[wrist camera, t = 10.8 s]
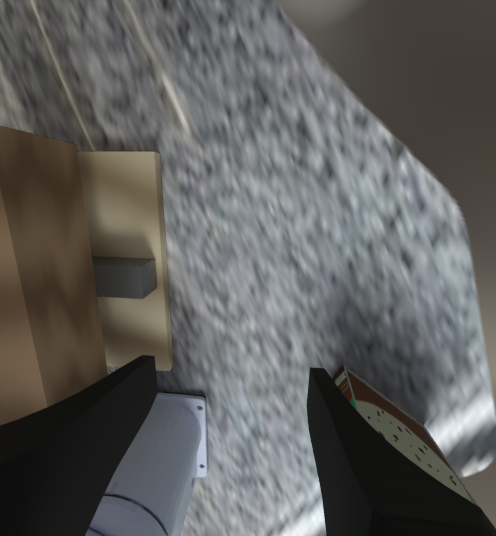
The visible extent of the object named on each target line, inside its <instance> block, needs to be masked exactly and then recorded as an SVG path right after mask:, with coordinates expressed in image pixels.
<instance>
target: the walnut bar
mask: <svg viewBox="0 0 496 536" xmlns="http://www.w3.org/2000/svg"><path fill="white" fill-rule="evenodd" d="M106 376H108V371H107V364H106V357H105V350H104V342H103V335H102V328H101V321H100V313H99V306H98V299H97V292H96V284H95V277H94V270H93V263H92V256H91V248H90V241H89V234H88V227H87V219H86V212H85V205H84V198H83V190H82V183H81V176H80V169H79V162H78V154H77V147H76V144H72V143H68V142H64V141H60V140H56V139H52V138H48V137H44V136H40V135H36V134H32V133H28V132H24V131H20V130H16V129H12V128H8V127H4V126H0V425H3V424H6V423H9V422H12V421H14V420H17V419H20V418H22V417H25V416H27V415H30V414H32V413H34V412H37V411H39V410H42V409H44V408H47V407H49V406H51V405H53V404H56V403H58V402H60V401H62V400H64V399H66V398H68V397H70V396H72V395H74V394H76V393H78V392H80V391H82V390H83V389H85V388H87V387H89V386H90V385H92V384H94V383H96V382H98V381H99V380H101V379H103V378H104V377H106Z"/></svg>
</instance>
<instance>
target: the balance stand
mask: <svg viewBox="0 0 496 536" xmlns="http://www.w3.org/2000/svg"><path fill="white" fill-rule="evenodd" d="M77 154H78V162H79V169H80V176H81V183H82V190H83V198H84V205H85V212H86V219H87V227H88V234H89V241H90V248H91V256H92V263H93V270H94V277H95V284H96V292H97V299H98V306H99V313H100V321H101V328H102V335H103V342H104V350H105V357H106V364H107V366H108V367H120V368H121V367H122V366H124V365H126V364H127V363H129V362H131V361H132V360H134V359H136V358H137V357H139V356H141V355H151V356H155V365H156V370H158V371H170V370H171V368H172V366H173V365H174V363H173V348H172V332H171V317H170V301H169V286H168V270H167V255H166V239H165V224H164V208H163V193H162V177H161V162H160V153H157V152H114V151H77Z"/></svg>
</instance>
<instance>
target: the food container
mask: <svg viewBox="0 0 496 536" xmlns="http://www.w3.org/2000/svg"><path fill="white" fill-rule="evenodd" d="M333 381H334V382H335V384H336V385H337V386H338V388H339V389H340V390H341V392H342V393H343V394H344V396H345V397H346V398H347V399H348V400H349V402H350V403H351V404H352V405H353V406H354V408H355V409H356V410H357V411H358V412H359V413H360V414H361V416H362V417H363V418H364V419H365V420H366V421H367V422H368V423H369V424H370V425H371V426H372V427H373V428H374V429H375V430H376V431H377V432H378V433H379V434H380V435H381V436H382V437H384V438H385V439H386V440H387V441H388V442H389V443H390V444H391V445H393V446H394V447H395V448H396V449H397V450H399V451H400V452H401V453H402V454H403V455H405V456H406V457H407V458H408V459H410V460H411V461H412V462H413V463H415V464H416V465H417V466H419V467H420V468H421V469H423V470H424V471H426V472H427V473H428V474H430V475H431V476H433V477H434V478H435V479H437V480H438V481H440V482H441V483H442V484H444V485H445V486H447V487H449V488H450V489H452V490H453V491H455V492H456V493H458V494H460V495H461V496H463V497H464V498H466V499H467V500H469V501H470V502H472V503H474V504H475V505H477V506H478V507H479V505H478V504H477V502H476V501H475V500H474V498H473V497H472V495H471V494H470V492H469V491H468V489H467V488H466V486H465V485H464V483H463V482H462V481H461V479H460V478H459V476H458V475H457V473H456V472H455V470H454V469H453V467H452V466H451V464H450V463H449V462H448V460H447V459H446V457H445V456H444V454H443V453H442V451H441V450H440V448H439V447H438V445H437V444H436V443H435V441H434V440H433V438H432V437H431V435H430V434H429V432H428V431H427V429H426V428H425V426H424V425H422V424H421V423H420V422H418V421H417V420H416V419H414V418H413V417H412V416H410V415H409V414H408V413H406V412H405V411H404V410H402V409H401V408H400V407H398V406H397V405H396V404H394V403H393V402H392V401H390V400H389V399H388V398H386V397H385V396H384V395H383V394H381V393H380V392H379V391H377V390H376V389H375V388H373V387H372V386H371V385H369V384H368V383H367V382H365V381H364V380H363V379H361V378H360V377H359V376H357V375H356V374H355V373H353V372H352V371H351V370H349V369H348V368H347V367H345V366H344V365H343V366H342V367H341V368H340V369H339V371H338V372H337V373H336V374H335V376H334V378H333Z"/></svg>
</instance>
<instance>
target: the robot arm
mask: <svg viewBox="0 0 496 536" xmlns="http://www.w3.org/2000/svg"><path fill="white" fill-rule="evenodd" d="M199 406H202V407H199ZM307 415H308V425H309V432H310V437H311V443H312V448H313V452H314V457H315V462H316V467H317V472H318V477H319V482H320V487H321V493H322V500H323V508H324V516H325V525H326V534H327V536H496V529H495V527H494V526H493V525H492V523H491V522H490V520H489V519H488V518H487V516H486V515H485V514H484V512H483V511H482V509H481V508H480V507H478V506H477V505H475V504H474V503H472V502H470V501H469V500H467V499H466V498H464V497H463V496H461V495H460V494H458V493H456V492H455V491H453V490H452V489H450V488H449V487H447V486H445V485H444V484H442V483H441V482H440V481H438V480H437V479H435V478H434V477H433V476H431V475H430V474H428V473H427V472H426V471H424V470H423V469H421V468H420V467H419V466H417V465H416V464H415V463H413V462H412V461H411V460H410V459H408V458H407V457H406V456H405V455H403V454H402V453H401V452H400V451H399V450H397V449H396V448H395V447H394V446H393V445H391V444H390V443H389V442H388V441H387V440H386V439H385V438H384V437H382V436H381V435H380V434H379V433H378V432H377V431H376V430H375V429H374V428H373V427H372V426H371V425H370V424H369V423H368V422H367V421H366V420H365V419H364V418H363V417H362V416H361V414H360V413H359V412H358V411H357V410H356V409H355V408H354V406H353V405H352V404H351V403H350V402H349V400H348V399H347V398H346V397H345V396H344V394H343V393H342V392H341V390H340V389H339V388H338V386H337V385H336V384H335V382H334V381H333V380H332V378H331V377H330V376H329V374H328V373H327V371H326V370H325V369H323V368H310V375H309V386H308V397H307ZM207 473H208V456H207V422H206V400H205V398H204V397H201V396H191V395H180V394H169V393H158V389H157V377H156V365H155V356H151V355H141V356H139V357H137V358H136V359H134V360H132V361H131V362H129V363H127V364H126V365H124V366H122V367H121V368H119V369H118V370H116V371H114V372H113V373H111V374H109V375H108V376H106V377H104V378H103V379H101V380H99V381H98V382H96V383H94V384H92V385H90V386H89V387H87V388H85V389H83V390H82V391H80V392H78V393H76V394H74V395H72V396H70V397H68V398H66V399H64V400H62V401H60V402H58V403H56V404H53V405H51V406H49V407H47V408H44V409H42V410H39V411H37V412H34V413H32V414H30V415H27V416H25V417H22V418H20V419H17V420H14V421H12V422H9V423H6V424H3V425H0V536H180V534H181V531H182V527H183V524H184V520H185V517H186V513H187V510H188V506H189V502H190V499H191V495H192V492H193V488H194V485H195V481H196V478H197V477H206V476H207Z"/></svg>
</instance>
